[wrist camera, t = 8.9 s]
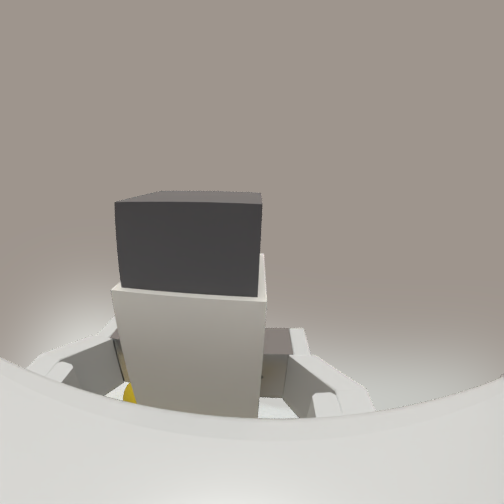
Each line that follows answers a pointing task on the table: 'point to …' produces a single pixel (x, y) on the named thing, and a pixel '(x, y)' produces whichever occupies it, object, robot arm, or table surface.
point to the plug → (192, 300)
